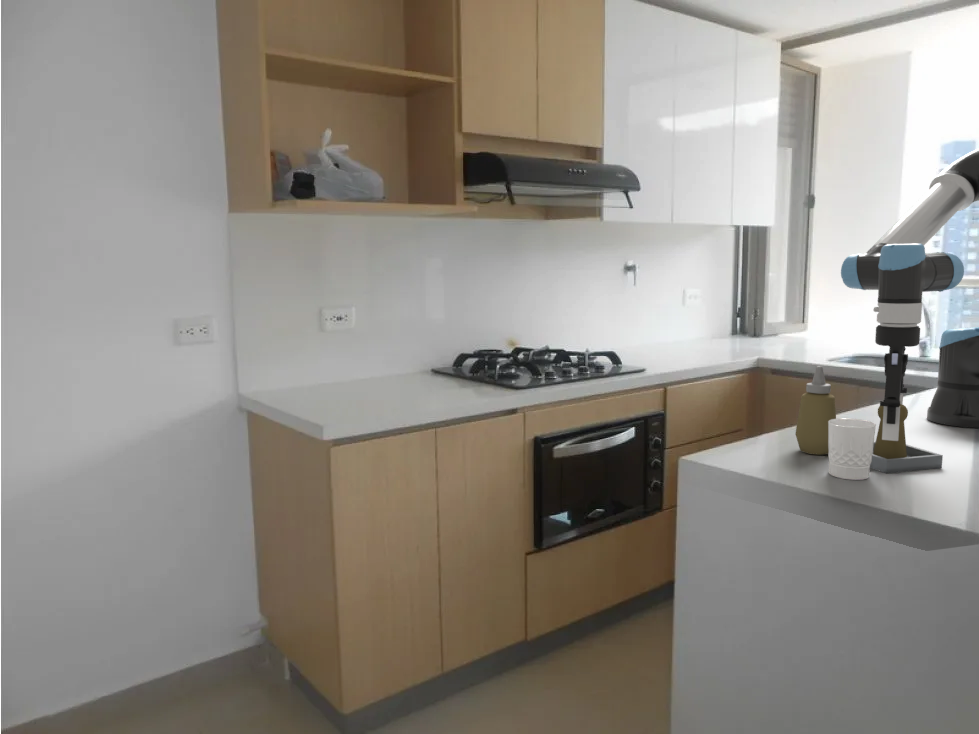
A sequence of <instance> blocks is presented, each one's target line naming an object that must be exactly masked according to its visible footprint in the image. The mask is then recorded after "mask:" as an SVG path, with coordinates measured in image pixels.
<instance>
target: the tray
mask: <svg viewBox="0 0 979 734" xmlns="http://www.w3.org/2000/svg"><path fill="white" fill-rule="evenodd" d="M875 443H876V441H874V445H873V452H874V447H875ZM906 452H907V457H905V458H894V459H886V458H883V457H880V456H877V455H874V454H873V453H872V460H871V464H870V469H873V470H876V471H878V472H879V471H880V472H881V473H884V474H893V473H894V474H896V473H905V472H915V471H926V470H935V469H942V468H943V458H944V457H943V454H939V453H937V452H933V451H929V450H926V449H923V448H920V447H917V446H913V445H909V444H907V443H906Z"/></svg>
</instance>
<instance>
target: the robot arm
mask: <svg viewBox="0 0 979 734" xmlns="http://www.w3.org/2000/svg"><path fill="white" fill-rule="evenodd" d="M978 201H979V148H977V149H974V150H972V151H970V152H968V153H967V154H964V155H963V156H961V157H960V158H958V159H957V160H955V161H953V162H952V163H951V164H949V165H948V166H947V167H945V168H944V169H943V170H942V171H941V172H940V173H939V174H937V175H936V176H935V177H934V178H933V179H932V181H931V183H930V185H929V190H928V191H927V192H926V193H925V194H924V195H922V197H921V198H919V199H918V201H916V203H915V204H914V205H912V206H911V207H910V208H909V210H907V212H905V213H904V215H903V216H901V217H900V218H899V219H898V221H897V222H895V224H893V226H891V228H889V229H888V230H887V231H886V232H885V233H884V235H883V236H881V237H880V239H879V240H877V242H875V243H874V244H873V245H872V246H871V247H870V248H869V249H868V250H867V251H866V252H865V253H861V252H860V253H854V254H850V255H848V256H847V257H846V258H845V259H844V261H842V265H841V269H840V276H841V279H842V283H843V284H844V285H845V286H846V287H847V288H849V289H855V290H856V289H857V290H858V289H859V290H862V291H867V290H868V291H878V292H877V296H878V297H877V306H874V307H873V312H875V313H876V322H877V323H878V324H879V325H878V324H877V326H876V327H875V336H874V337H875V340H874V342H875V344H876V345H879V346H883V347H885V346H886V347H889V351H888V353H884V358H883V364H884V376H885V387H884V399H882V400H881V401H879V406H884V411H883V429H882V440H892V441H898V437H899V420H900V404H902V405H904V404H903V403H904V394H908V393H907V392H908V388H907V387H904V386H905V384H904V377H905V376H906V371H907V365H908V361H909V354H908V353H905V351H906V349H907V348H906V347H909V348H910V347H916V346H918V345H919V344H920V339H921V328H920V326H919V324H920V323H921V322H922V315H923V314H922V313H923V312H922V311H923V301H922V300H923V293H927V292H939V293H941V292H944V291H947V290H951V289H954V288H955V287H956V288H957V286H958V285H960V283H961V282H962V280H963V278H964V274H965V267H964V263H963V261H962V260H961V259H960V257H959V256H957V255H956V254H953V253H950V252H945V251H944V252H943V251H942V252H940V251H939V252H938V251H937V252H926V249H925V248H926V247H925V245H926V244H927V243H928V242H929V241H930V240H931V239H932V238H933V237H934V236H935V235H936V234H937V233H938V232H939V231H940V230H941V229H942V228H943V226H945V225H946V224H947V223H948V222H949V220H951V219H952V217H954V216H955V214H957V212H959V211H963V210H966V209H968V208H969V207H970V206H971V205H972V204H974V202H978ZM939 343H940V344H939V346H938V348H939V352H938V353H939V356H938V358H939V359H938V371H937V374H938V375H937V388H936V391H935V392H934V394H933V397H932V399H931V403H930V405H929V406H928V408H927V412H926V419H927V420H928V421H931V422H933V423H935V424H936V423H937V424H941V425H944V426H945V425H947V426H953V427H960V428H961V427H962V428H975V429H976V428H977V429H978V428H979V326H977V327H961V328H951V329H950V328H949V329H946V330H945V331H943V332H942V334H941V337H940V342H939Z"/></svg>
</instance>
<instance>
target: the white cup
mask: <svg viewBox="0 0 979 734" xmlns="http://www.w3.org/2000/svg"><path fill="white" fill-rule="evenodd" d="M876 426H877V424H876V423H875V422H873V421H869V420H864V419H857V418H847V417H846V418H845V417H844V418H836V419H831V420H829V421H828V449H829V453H828V454H827V455H828V460H829V461H828V473H829V474H830V476H833V477H834V478H838V479H843V480H850V481H859V480H860V481H861V480H866V479H868V478H869V477H870V472H871V468H870V464H871V460H872V453H873V445H874V442H875V434H876Z"/></svg>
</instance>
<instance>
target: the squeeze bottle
mask: <svg viewBox="0 0 979 734" xmlns="http://www.w3.org/2000/svg"><path fill="white" fill-rule="evenodd" d="M815 367H816V368H815V369H814V370H815V371H814V373H813V378H812V381H811V382H807V383H806V387H805V393H803V394H802V395H801V396H800V403H799V409H798V415H797V423H796V428H795V437H796V440H797V443H798V444H797V445H798V447H799V450H800V451H801V452H803V453H805V454H809V455H818V456H820V455H821V456H822V455H823V456H824V455H828V453H829V449H828V421H829V420H831V419H837V412H836V411H837V410H836V397H835V396H834V395H833V394H831V389H832V388H831V384H830V383H826V377H825V373H824V368H823V366H820V365H817V366H815Z"/></svg>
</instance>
